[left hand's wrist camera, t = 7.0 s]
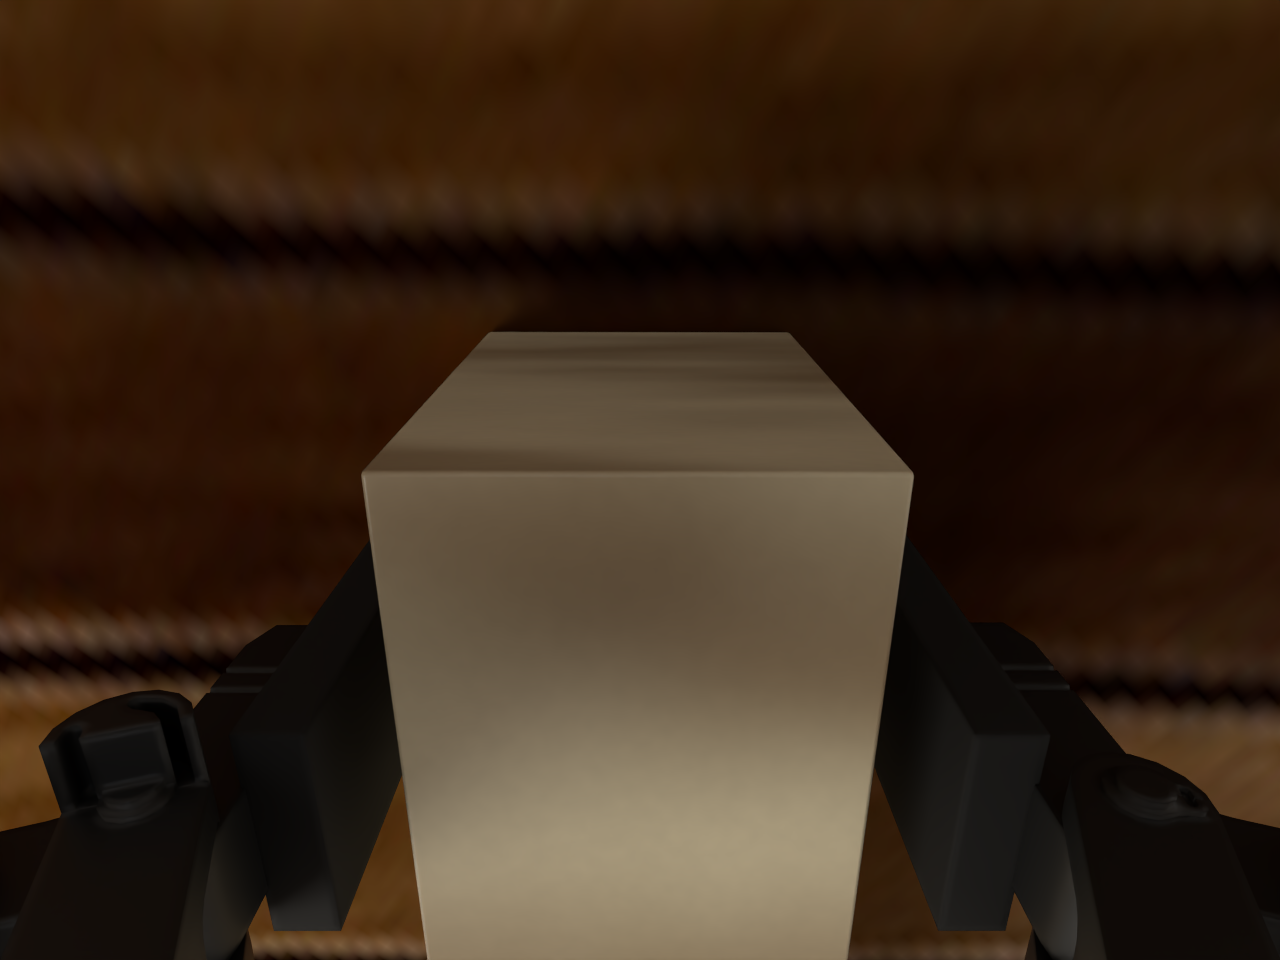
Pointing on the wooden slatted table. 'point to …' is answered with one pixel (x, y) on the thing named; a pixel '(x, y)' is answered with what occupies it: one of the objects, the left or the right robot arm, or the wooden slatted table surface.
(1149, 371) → the wooden slatted table surface
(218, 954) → the left robot arm
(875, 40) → the wooden slatted table surface
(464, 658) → the birch plank
